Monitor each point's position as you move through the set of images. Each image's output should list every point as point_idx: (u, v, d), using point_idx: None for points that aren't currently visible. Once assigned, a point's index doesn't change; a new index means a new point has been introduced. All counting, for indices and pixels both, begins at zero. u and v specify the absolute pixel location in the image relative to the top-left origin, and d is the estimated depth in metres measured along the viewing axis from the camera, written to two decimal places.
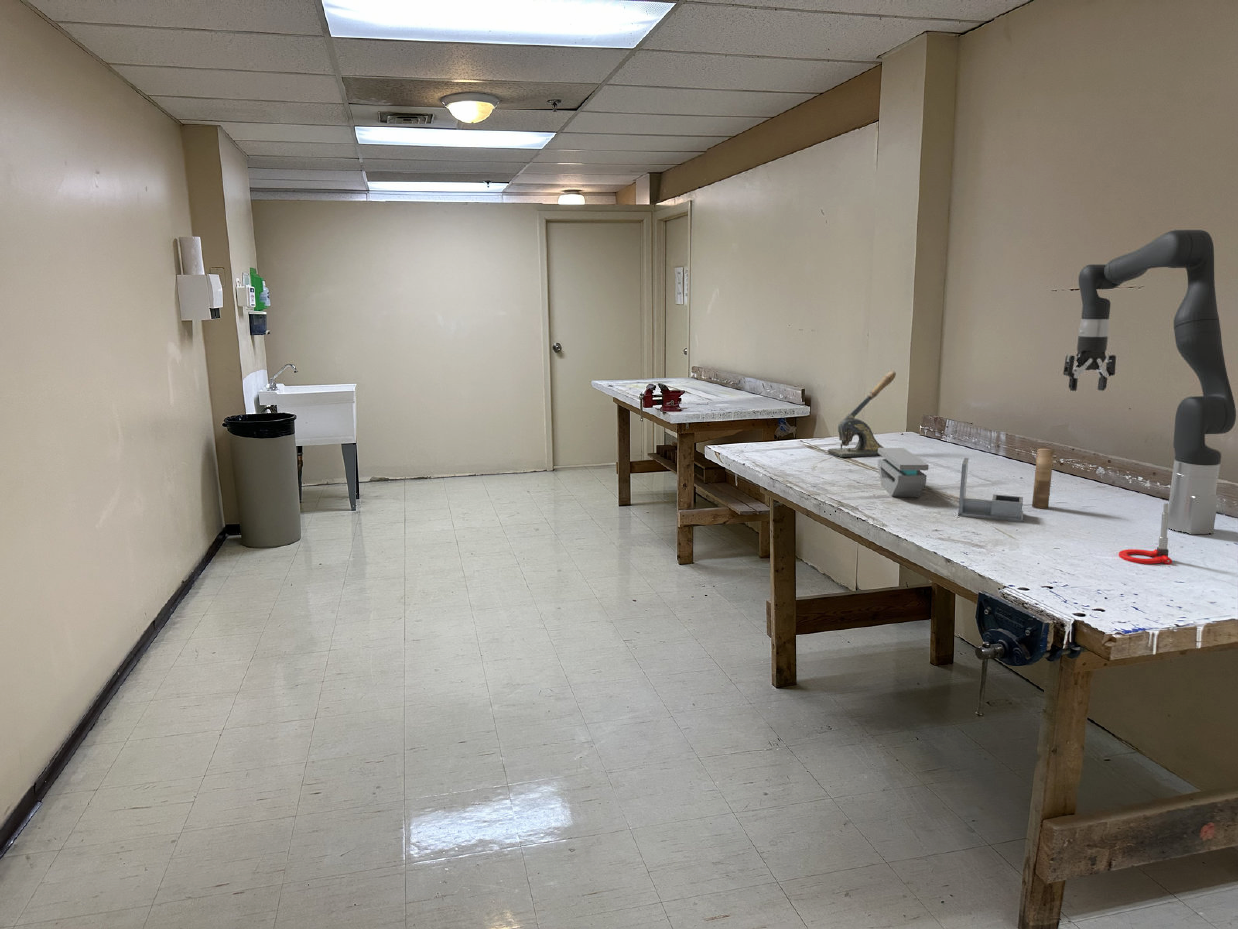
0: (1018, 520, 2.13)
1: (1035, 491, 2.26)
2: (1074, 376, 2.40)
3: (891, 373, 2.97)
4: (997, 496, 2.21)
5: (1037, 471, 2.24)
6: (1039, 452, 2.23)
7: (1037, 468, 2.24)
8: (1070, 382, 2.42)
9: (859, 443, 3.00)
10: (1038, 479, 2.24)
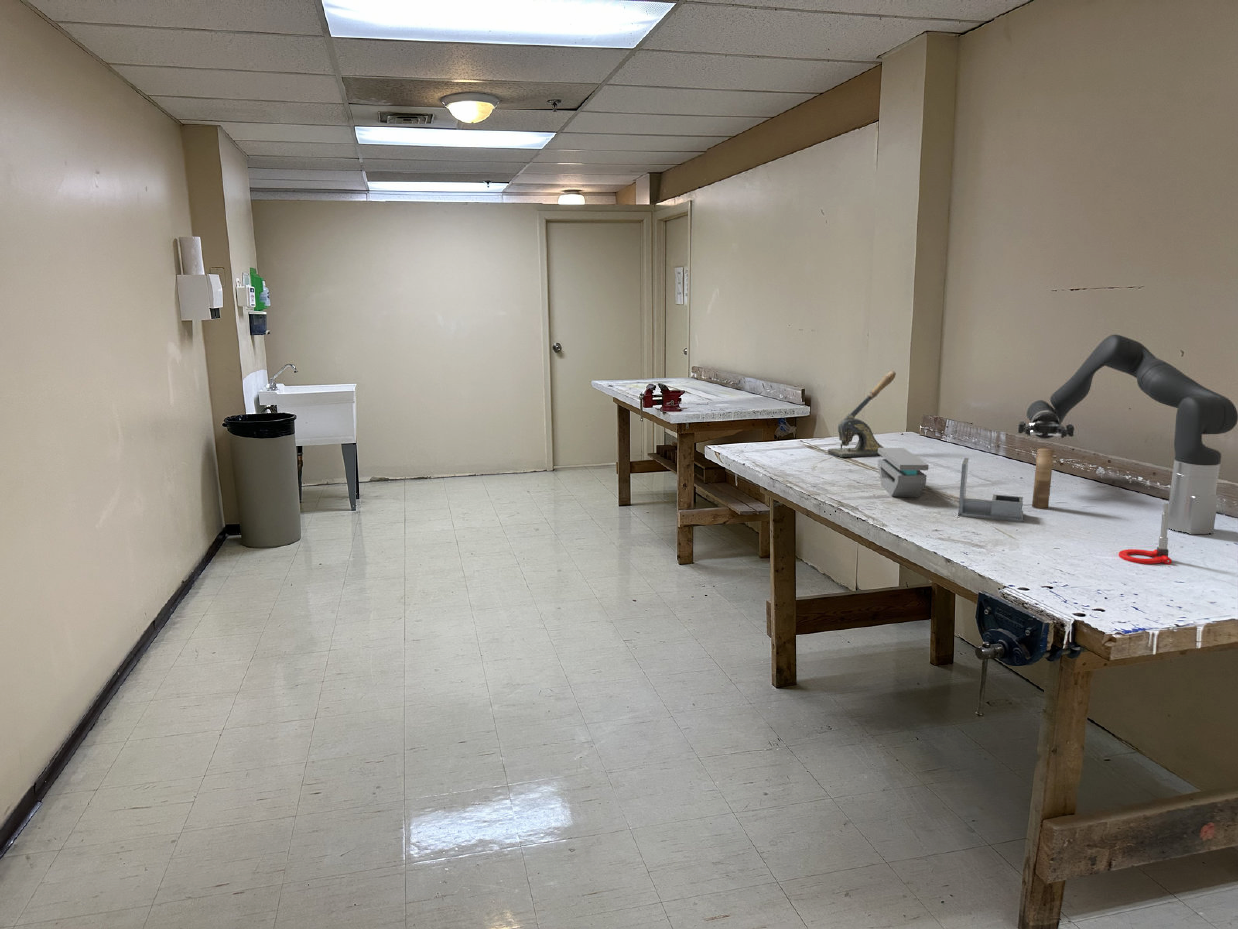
0: (1018, 520, 2.13)
1: (1035, 491, 2.26)
2: (1026, 425, 2.39)
3: (891, 373, 2.97)
4: (997, 496, 2.21)
5: (1037, 471, 2.24)
6: (1039, 452, 2.23)
7: (1037, 468, 2.24)
8: None
9: (859, 443, 3.00)
10: (1038, 479, 2.24)
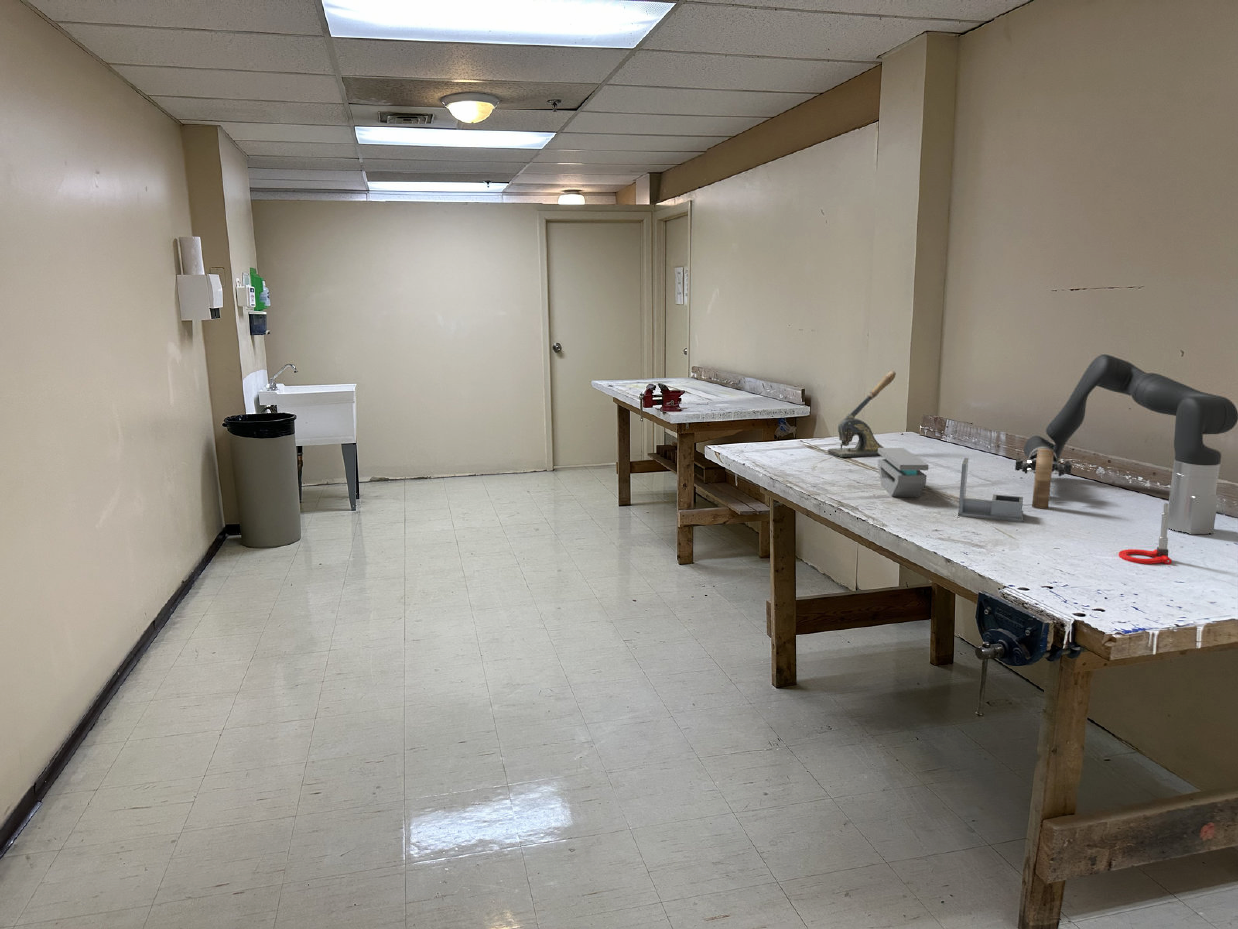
0: (1018, 520, 2.13)
1: (1035, 491, 2.26)
2: (1023, 462, 2.36)
3: (891, 373, 2.97)
4: (997, 496, 2.21)
5: (1037, 471, 2.24)
6: (1039, 452, 2.23)
7: (1037, 468, 2.24)
8: None
9: (859, 443, 3.00)
10: (1038, 479, 2.24)
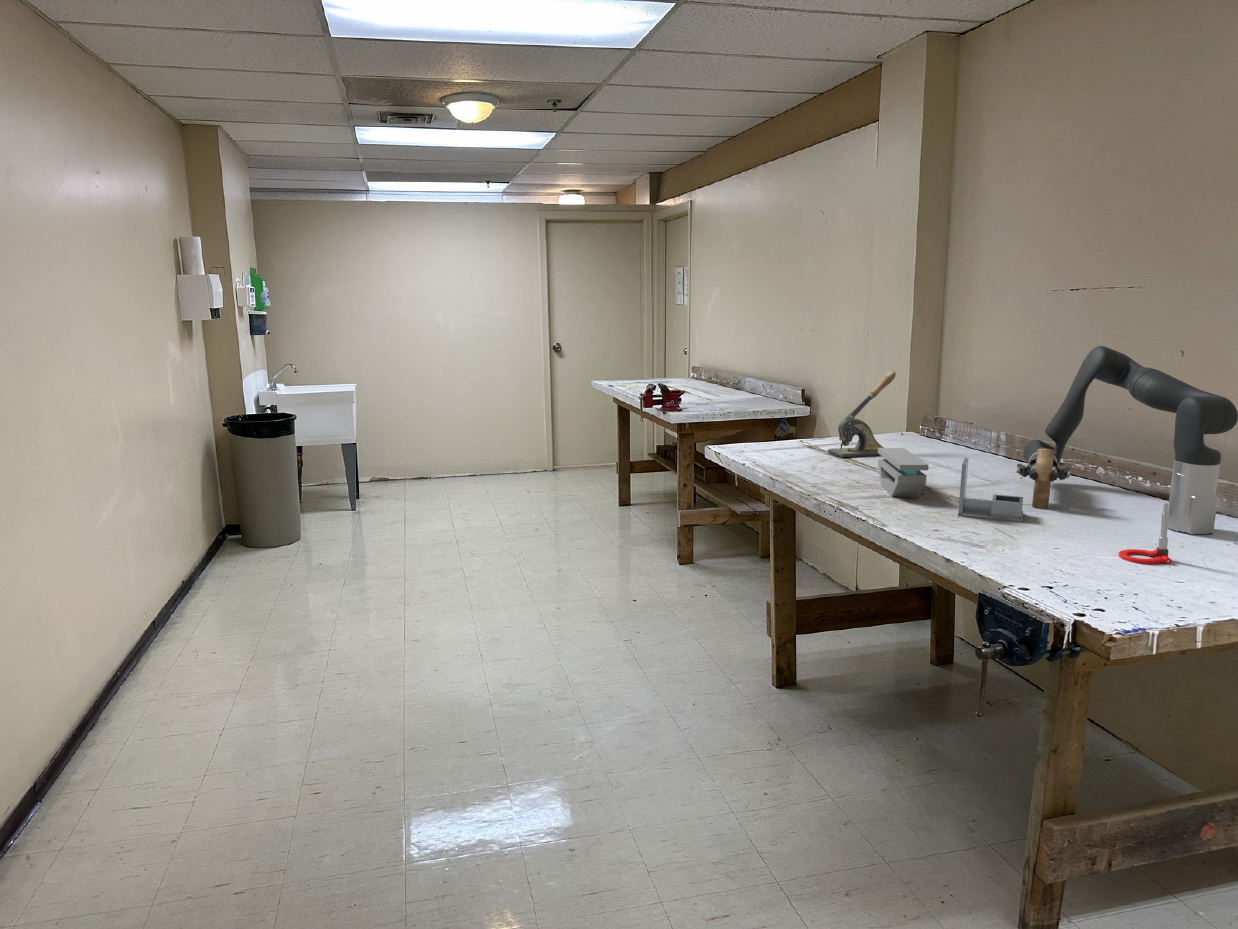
0: (1018, 520, 2.13)
1: (1035, 491, 2.26)
2: (1031, 469, 2.27)
3: (891, 373, 2.97)
4: (997, 496, 2.21)
5: (1037, 471, 2.24)
6: (1039, 452, 2.23)
7: (1037, 468, 2.24)
8: None
9: (859, 443, 3.00)
10: (1038, 479, 2.24)
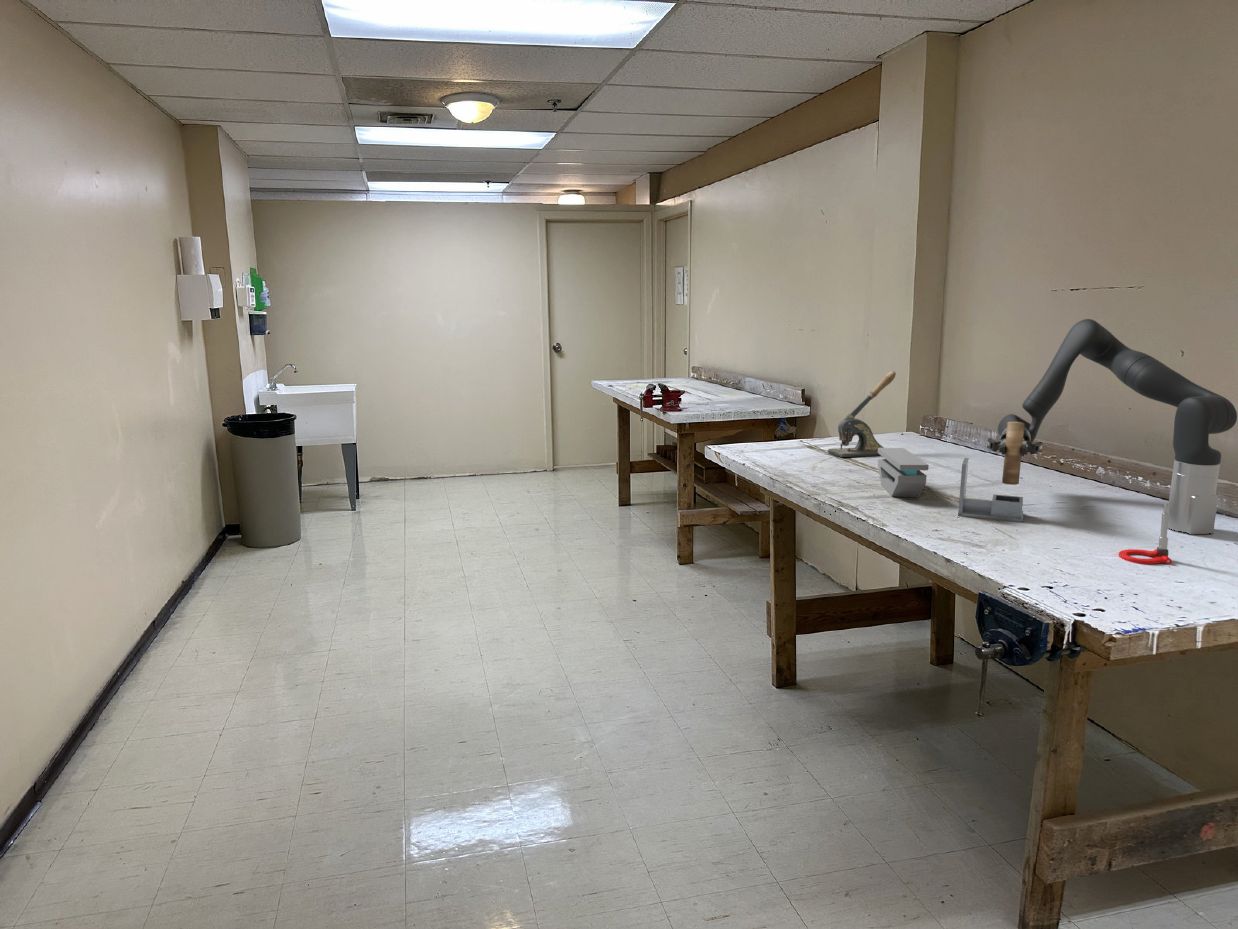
0: (1018, 520, 2.13)
1: (1005, 466, 2.16)
2: (1001, 443, 2.18)
3: (891, 373, 2.97)
4: (997, 496, 2.21)
5: (1007, 445, 2.15)
6: (1009, 425, 2.14)
7: (1007, 442, 2.15)
8: None
9: (859, 443, 3.00)
10: (1008, 453, 2.15)
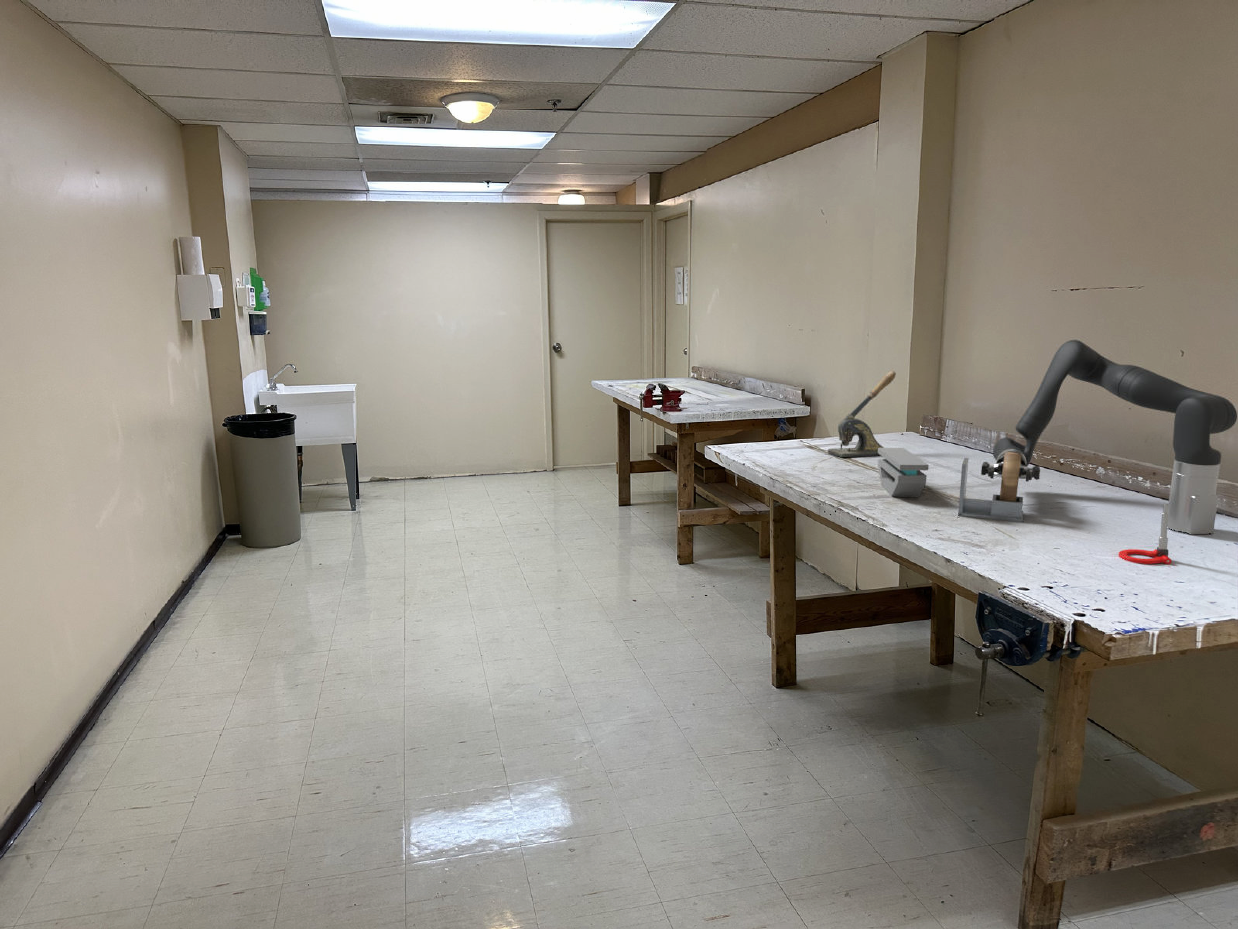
0: (1018, 520, 2.13)
1: (1001, 496, 2.17)
2: (989, 467, 2.20)
3: (891, 373, 2.97)
4: (997, 496, 2.21)
5: (1004, 475, 2.16)
6: (1006, 456, 2.15)
7: (1004, 472, 2.16)
8: None
9: (859, 443, 3.00)
10: (1005, 484, 2.16)
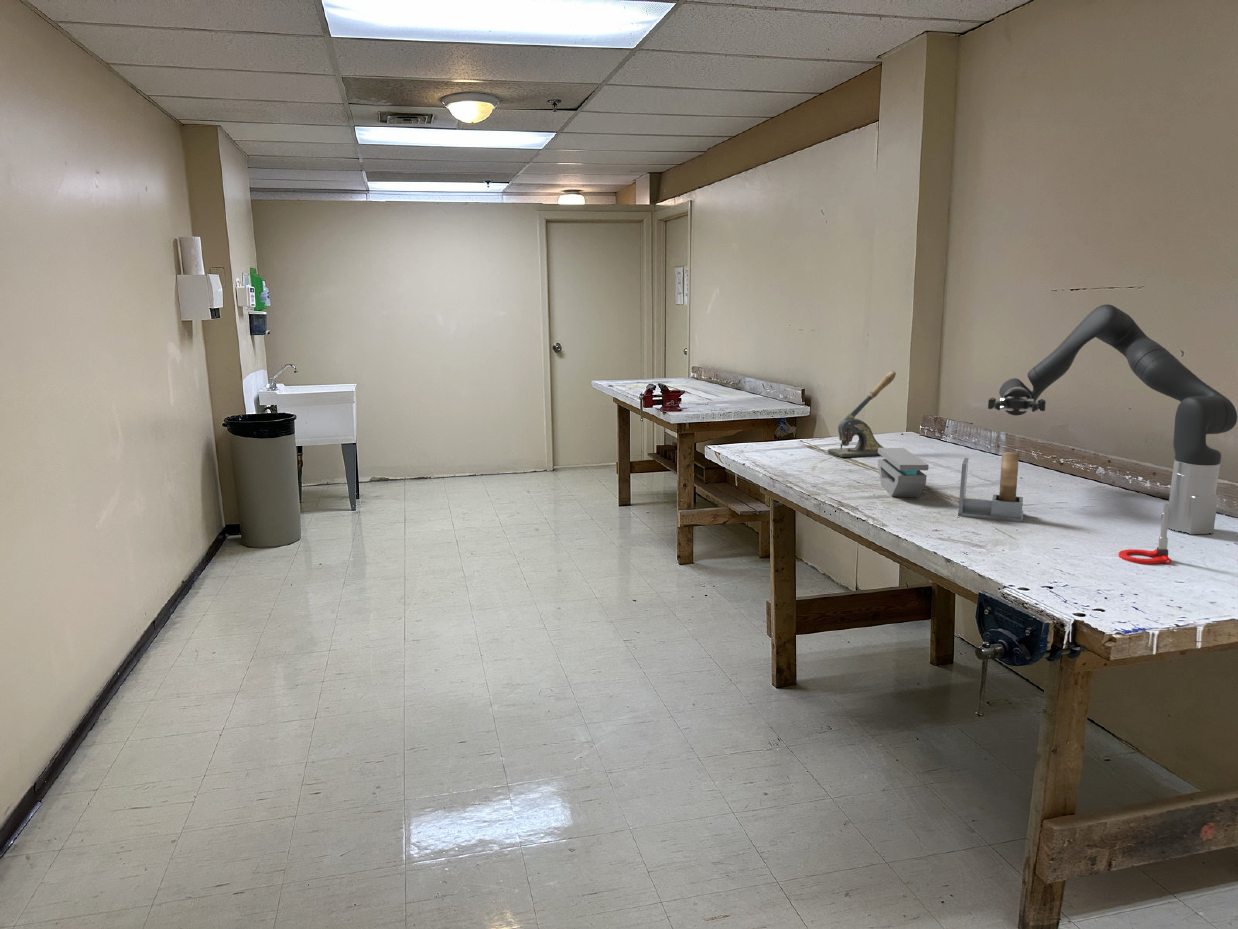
0: (1018, 520, 2.13)
1: (1001, 497, 2.17)
2: (996, 400, 2.28)
3: (891, 373, 2.97)
4: (997, 496, 2.21)
5: (1002, 476, 2.16)
6: (1003, 456, 2.15)
7: (1002, 473, 2.16)
8: None
9: (859, 443, 3.00)
10: (1003, 484, 2.16)
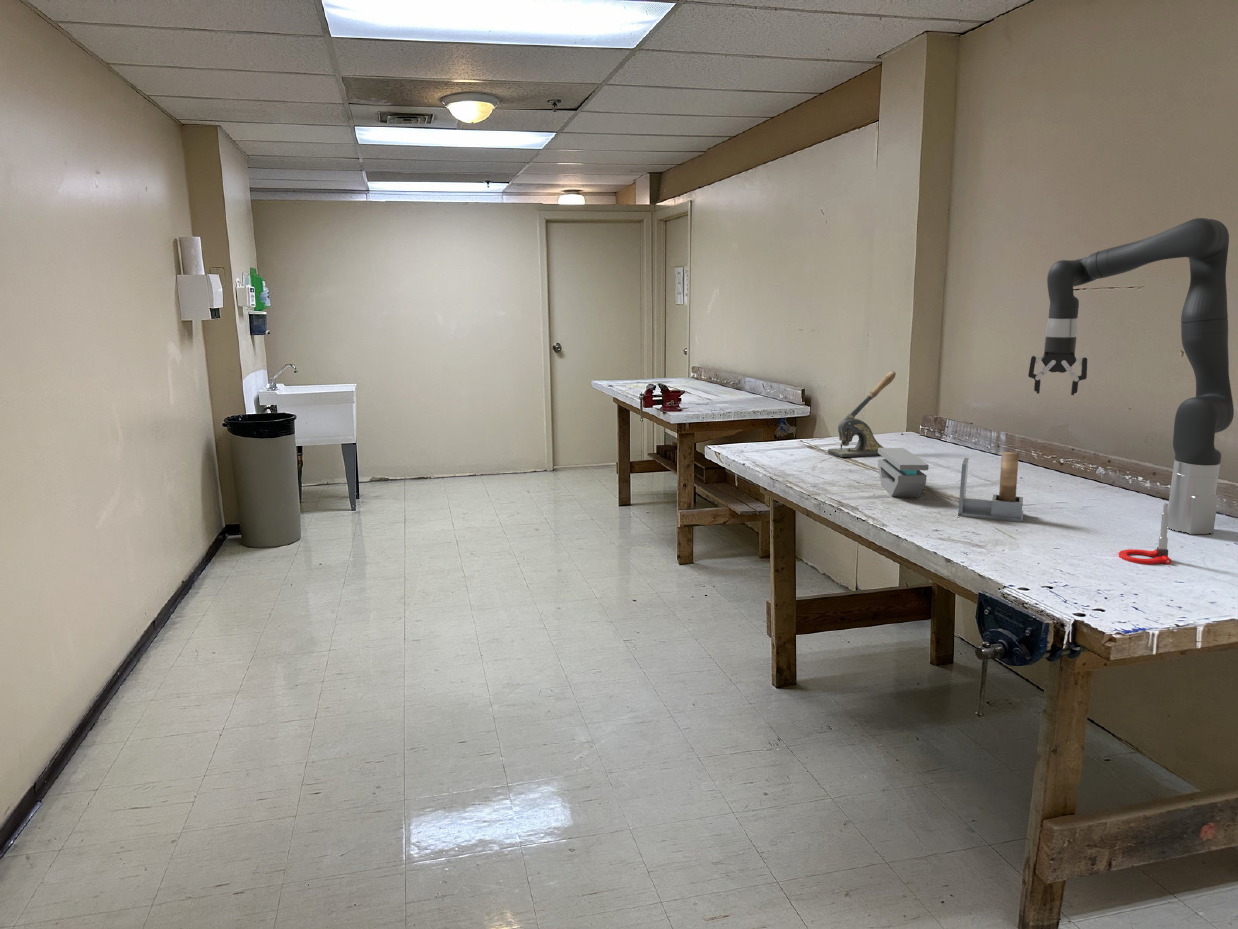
0: (1018, 520, 2.13)
1: (1000, 497, 2.17)
2: (1036, 378, 2.29)
3: (891, 373, 2.97)
4: (997, 496, 2.21)
5: (1002, 476, 2.16)
6: (1003, 456, 2.14)
7: (1002, 473, 2.16)
8: None
9: (859, 443, 3.00)
10: (1003, 484, 2.16)
